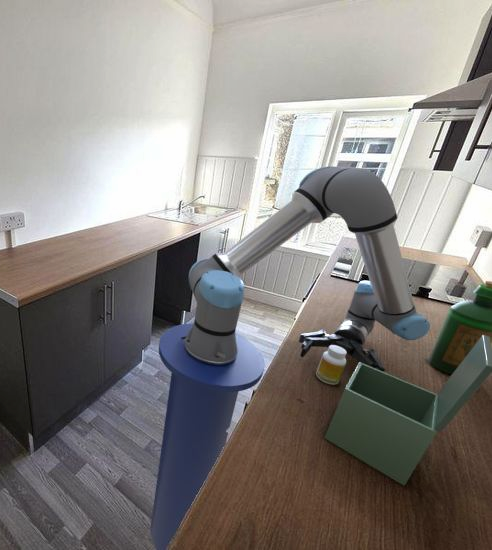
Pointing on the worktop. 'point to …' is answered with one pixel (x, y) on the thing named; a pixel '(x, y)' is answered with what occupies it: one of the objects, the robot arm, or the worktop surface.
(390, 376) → the box
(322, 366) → the supplement bottle
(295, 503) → the worktop surface
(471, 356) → the box lid
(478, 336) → the bottle
